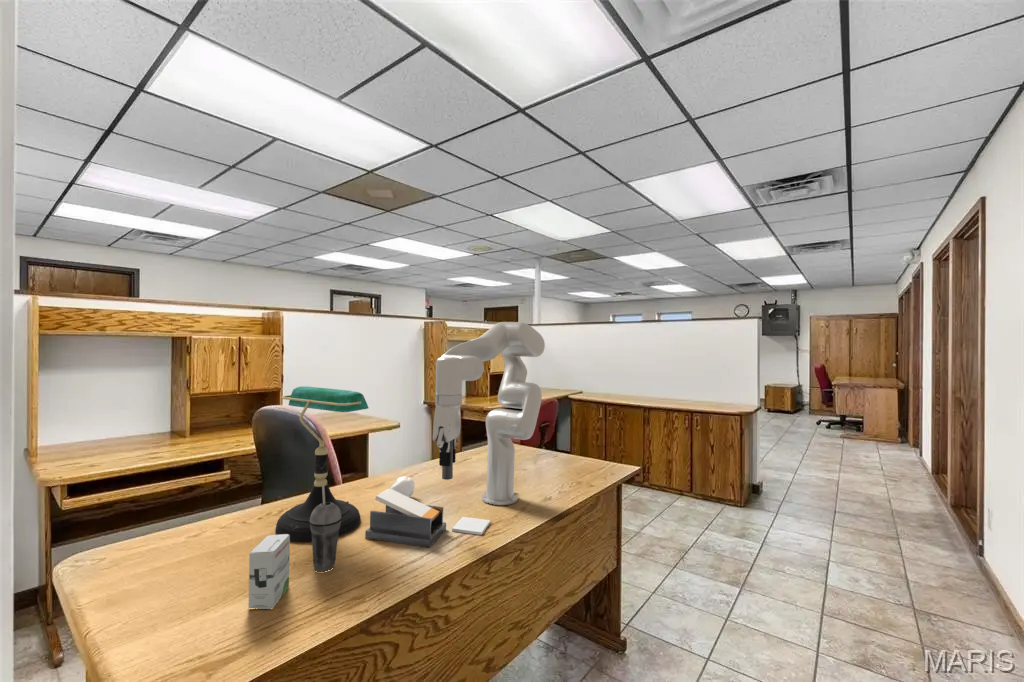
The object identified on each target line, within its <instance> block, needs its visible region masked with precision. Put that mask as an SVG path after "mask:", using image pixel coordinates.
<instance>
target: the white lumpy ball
mask: <svg viewBox="0 0 1024 682" xmlns="http://www.w3.org/2000/svg"><path fill="white" fill-rule="evenodd" d="M390 489H392V490H394V491H396V492H399V493H401V494H403V495H405V496H407V497H409V498H411V496H412V495H413V494H414V492H415V491H414V490H415V481H414V480H413V479H412V477H407V476H399V477H398V478H397V479H396V480H395V482H394V483H392V485H391V488H390Z"/></svg>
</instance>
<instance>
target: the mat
mask: <svg viewBox="0 0 1024 682" xmlns="http://www.w3.org/2000/svg"><path fill="white" fill-rule="evenodd" d="M490 524H491V520H490V519H482V518H475V517H468V516H467V517H466V516H462V517H460V519H459V520H458V521H457V522H456V523H455V524H454V525H453V527H452V528H451V532H455V533H462V534H463V533H464V534H470V535H477V536H482V535H483V534H484V533H485V531H486V530H487V528H488V527H489V525H490Z"/></svg>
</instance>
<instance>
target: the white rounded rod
mask: <svg viewBox="0 0 1024 682" xmlns="http://www.w3.org/2000/svg"><path fill="white" fill-rule="evenodd" d="M445 440H446V439H444V441H445ZM444 444H446V443H444ZM446 446H447V444H446ZM449 452H451V465H450V466H449V467H448V466H441V479H442V480H452V479H454V478H453V477H454V475H453V473H454V472H453V469H454V463H453V440H451V441H450V451H449Z"/></svg>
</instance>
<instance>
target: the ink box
mask: <svg viewBox="0 0 1024 682" xmlns="http://www.w3.org/2000/svg"><path fill="white" fill-rule="evenodd" d="M290 544H291V541H290V535H288V534H281V535H277V534H269V535H266V537H264V539H263V540H262V541H261V542H259V543H258V545H256V546H255V547H254V548H253V550H251V551H250V552H249V559H248V560H249V562H248V563H249V568H248V569H249V574H248V609H249V608H255V609H256V608H257V609H271V608H273V607H274V606H276V605H277V604H278V602H279V601H280V600H279V599H281V598H282V597H283V596H284V594H285V592H286V591H287V590H288V589H289V586H290V547H291V546H290ZM281 596H282V597H281ZM278 600H279V601H278ZM276 603H277V604H276ZM275 604H276V605H275ZM274 608H275V607H274ZM274 608H273V609H274Z"/></svg>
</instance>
